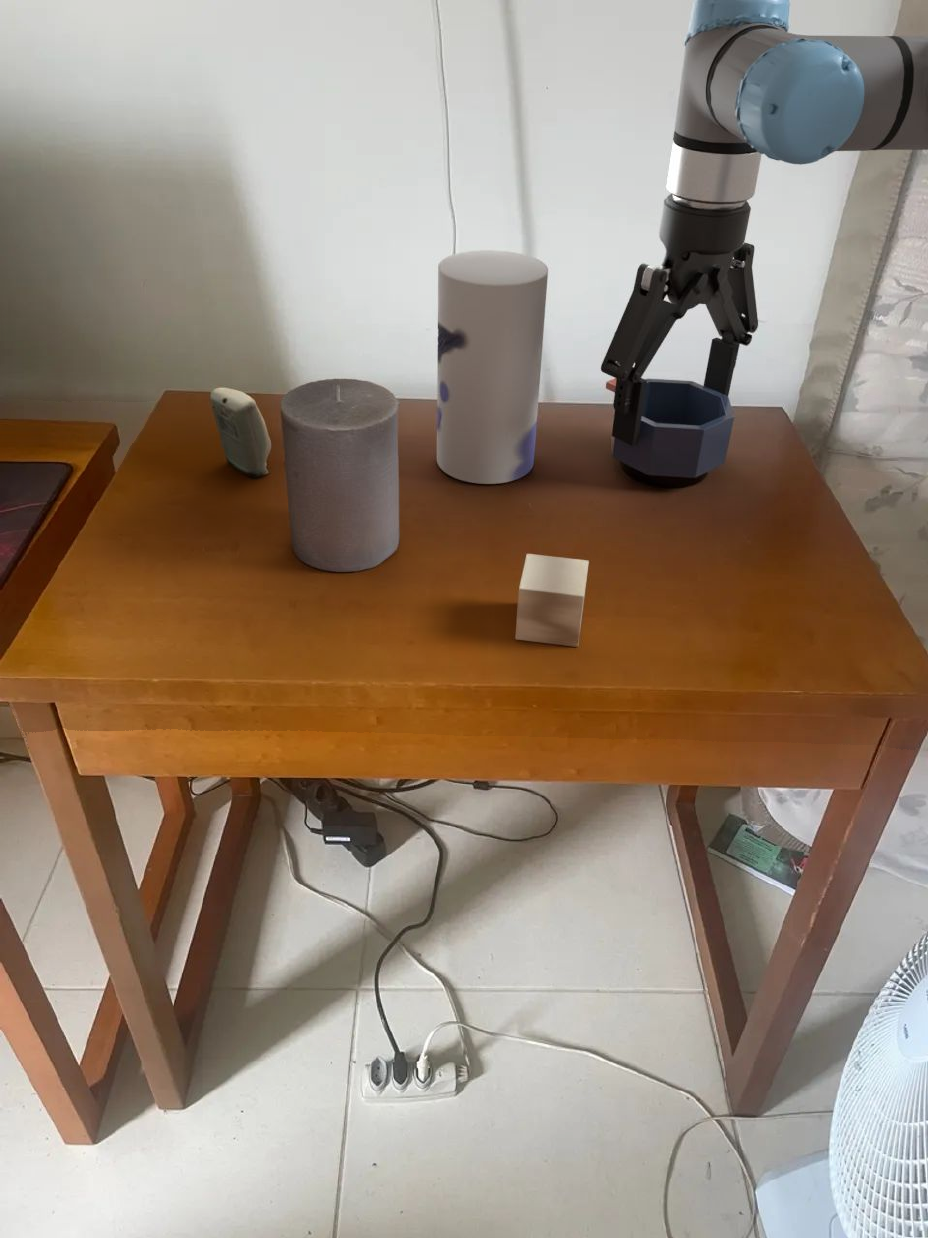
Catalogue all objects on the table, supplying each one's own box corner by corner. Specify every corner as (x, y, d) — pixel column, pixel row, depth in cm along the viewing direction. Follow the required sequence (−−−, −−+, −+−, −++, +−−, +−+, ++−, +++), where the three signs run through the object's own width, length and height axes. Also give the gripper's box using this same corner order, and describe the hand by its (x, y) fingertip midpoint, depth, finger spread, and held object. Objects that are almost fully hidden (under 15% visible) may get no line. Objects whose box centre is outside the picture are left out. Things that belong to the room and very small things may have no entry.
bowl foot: (725, 470, 101) (728, 457, 100) (668, 497, 96) (670, 484, 95) (659, 438, 106) (661, 425, 105) (601, 462, 102) (603, 449, 101)
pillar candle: (286, 521, 91) (271, 367, 82) (390, 510, 93) (386, 358, 84) (298, 580, 83) (283, 418, 74) (411, 566, 86) (409, 407, 76)
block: (582, 610, 81) (589, 560, 78) (578, 647, 77) (584, 596, 74) (522, 603, 82) (526, 552, 79) (515, 639, 78) (518, 588, 75)
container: (421, 449, 103) (421, 254, 91) (506, 433, 106) (516, 243, 94) (461, 493, 96) (466, 288, 84) (551, 474, 99) (568, 275, 87)
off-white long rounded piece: (207, 475, 97) (196, 400, 93) (228, 451, 102) (218, 378, 97) (262, 482, 97) (253, 407, 92) (280, 458, 101) (273, 384, 96)
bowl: (744, 454, 100) (755, 407, 97) (672, 488, 94) (681, 439, 91) (645, 408, 108) (652, 363, 105) (573, 437, 102) (578, 390, 99)
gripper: (759, 168, 94) (718, 377, 107) (576, 210, 81) (555, 441, 94) (827, 185, 90) (776, 401, 103) (644, 232, 77) (612, 472, 90)
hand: (670, 421), depth 98 cm, fingers open, 13 cm apart
